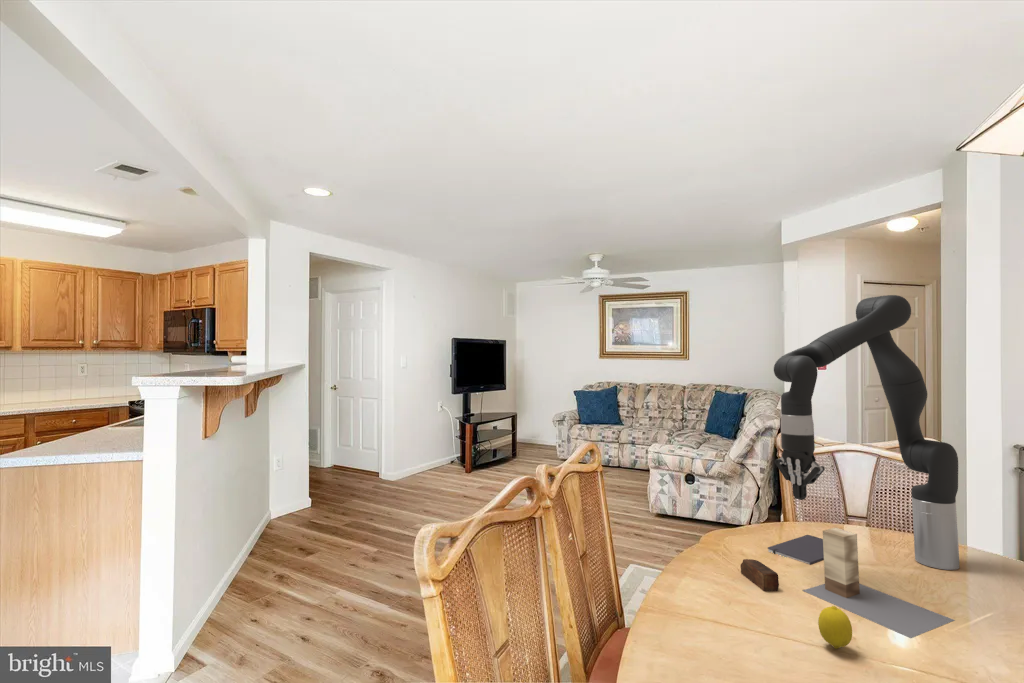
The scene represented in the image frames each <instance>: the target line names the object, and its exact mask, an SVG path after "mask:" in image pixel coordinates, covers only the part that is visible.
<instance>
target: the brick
mask: <svg viewBox="0 0 1024 683" xmlns="http://www.w3.org/2000/svg"><path fill="white" fill-rule="evenodd" d="M740 573H741V575H742V576H743V577H745V578H746V579H748V580H749V581H750V582H751V583H752V584H754V585H755V586H756V587H757V588H759V589H760V590H762V591H763V592H764V593H766V592H778V589H779V586H780V582H779V579H780V578H779V574H778V573H777V572H776V571H775V570H773V569H772V568H770V567H769V566H766V565H765V564H764V563H762V562H761V561H759V560H756V559H751V558H750V559H749V558H745V559H742V562H741V564H740Z"/></svg>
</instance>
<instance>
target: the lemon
mask: <svg viewBox="0 0 1024 683" xmlns="http://www.w3.org/2000/svg"><path fill="white" fill-rule="evenodd" d="M818 616H819V617H818V622H817V624H818V629H819V633H820V635H821V637H822V638H823V639H824V641H825V642H826V643H828V644H829V645H831V646H832V647H833V649H835V650H838V649H840V648H843V647H845V648H846V646H848V645H849V644H850V643H851V641H852V638H853V626H852V622H851V620H850V618H849V617H848V615H847V614H846V613H845V611H843V610H842V609H840V608H838V606H836V605H831V606H827V607H824V608H823V609H822V610H821V611H820V613H819V615H818Z"/></svg>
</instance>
